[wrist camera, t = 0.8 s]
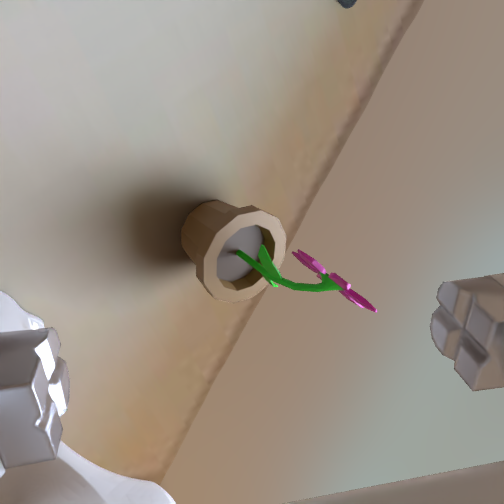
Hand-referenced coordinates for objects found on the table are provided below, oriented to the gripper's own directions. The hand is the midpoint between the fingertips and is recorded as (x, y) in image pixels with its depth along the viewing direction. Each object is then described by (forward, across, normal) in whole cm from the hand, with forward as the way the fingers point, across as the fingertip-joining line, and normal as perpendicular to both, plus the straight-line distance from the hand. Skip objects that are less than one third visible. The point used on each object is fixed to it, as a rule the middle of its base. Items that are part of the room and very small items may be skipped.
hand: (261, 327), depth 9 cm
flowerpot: (+56, +3, -25) cm, 61 cm away
